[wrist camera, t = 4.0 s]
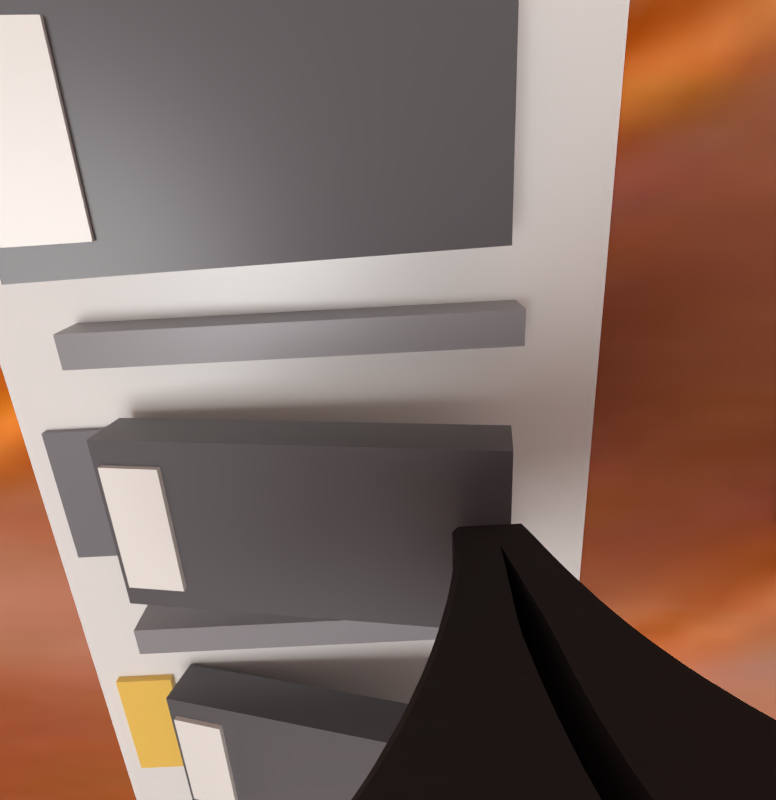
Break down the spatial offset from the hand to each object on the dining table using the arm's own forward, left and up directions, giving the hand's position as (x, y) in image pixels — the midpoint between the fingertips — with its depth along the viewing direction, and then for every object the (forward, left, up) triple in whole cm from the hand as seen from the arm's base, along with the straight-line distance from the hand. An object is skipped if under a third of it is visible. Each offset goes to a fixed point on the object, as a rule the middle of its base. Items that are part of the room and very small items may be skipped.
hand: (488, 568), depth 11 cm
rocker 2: (+4, +8, -2) cm, 9 cm away
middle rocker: (+4, 0, -2) cm, 4 cm away
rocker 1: (+4, -8, -2) cm, 9 cm away
